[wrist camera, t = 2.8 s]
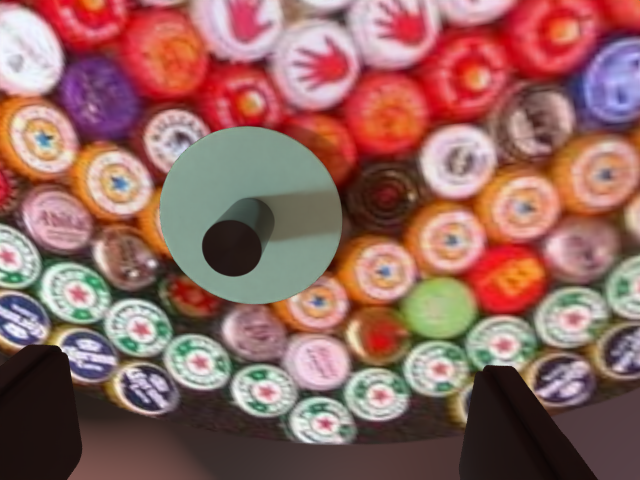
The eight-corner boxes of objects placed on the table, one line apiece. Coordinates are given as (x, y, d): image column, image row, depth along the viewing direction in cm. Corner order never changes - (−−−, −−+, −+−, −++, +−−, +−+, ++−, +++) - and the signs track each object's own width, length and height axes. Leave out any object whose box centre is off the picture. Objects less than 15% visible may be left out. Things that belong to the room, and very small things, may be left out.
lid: (144, 258, 28) (91, 302, 22) (199, 94, 25) (155, 88, 18) (300, 320, 29) (293, 379, 23) (371, 171, 26) (385, 191, 20)
